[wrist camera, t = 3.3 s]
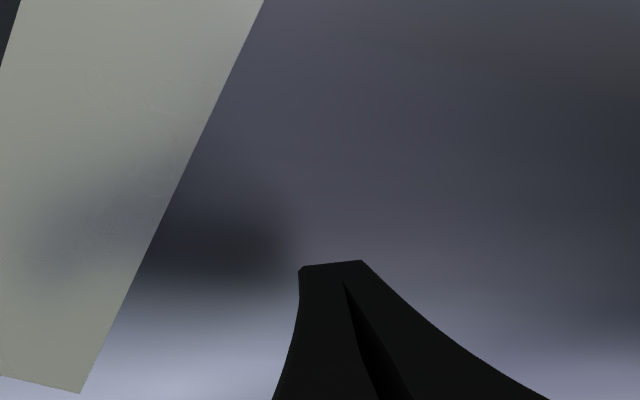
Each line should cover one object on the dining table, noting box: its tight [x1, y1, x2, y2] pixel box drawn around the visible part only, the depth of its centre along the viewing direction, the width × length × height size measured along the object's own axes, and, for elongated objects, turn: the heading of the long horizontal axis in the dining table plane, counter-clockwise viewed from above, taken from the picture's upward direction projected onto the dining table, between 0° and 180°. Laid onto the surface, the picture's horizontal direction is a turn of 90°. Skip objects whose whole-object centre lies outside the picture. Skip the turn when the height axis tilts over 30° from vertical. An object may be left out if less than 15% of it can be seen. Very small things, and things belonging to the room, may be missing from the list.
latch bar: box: [0, 0, 264, 394], centre depth 7 cm, size 10×3×3 cm, turn 151°
